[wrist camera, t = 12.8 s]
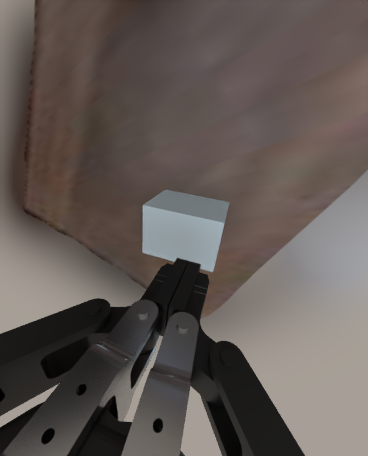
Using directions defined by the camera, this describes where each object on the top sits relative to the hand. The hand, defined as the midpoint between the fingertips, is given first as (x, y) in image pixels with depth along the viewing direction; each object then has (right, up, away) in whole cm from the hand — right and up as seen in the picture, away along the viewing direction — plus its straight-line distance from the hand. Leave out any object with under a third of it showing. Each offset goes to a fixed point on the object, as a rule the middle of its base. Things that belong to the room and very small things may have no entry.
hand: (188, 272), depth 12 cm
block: (+2, +5, +31) cm, 31 cm away
